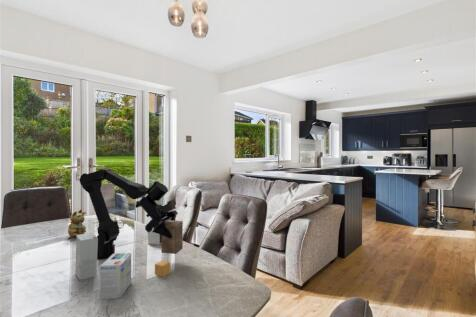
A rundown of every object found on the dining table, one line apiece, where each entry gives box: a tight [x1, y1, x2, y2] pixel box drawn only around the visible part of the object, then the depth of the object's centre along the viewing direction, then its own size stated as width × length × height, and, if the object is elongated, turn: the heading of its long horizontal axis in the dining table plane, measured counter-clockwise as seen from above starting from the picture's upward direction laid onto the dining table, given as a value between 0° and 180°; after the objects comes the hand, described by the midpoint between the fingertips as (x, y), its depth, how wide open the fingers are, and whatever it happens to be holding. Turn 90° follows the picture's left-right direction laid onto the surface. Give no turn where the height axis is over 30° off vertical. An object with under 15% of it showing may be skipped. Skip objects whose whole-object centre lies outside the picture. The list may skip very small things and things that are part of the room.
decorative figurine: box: [67, 209, 87, 238], centre depth 147 cm, size 10×8×15 cm
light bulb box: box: [99, 252, 132, 300], centre depth 86 cm, size 11×7×11 cm, turn 5°
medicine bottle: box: [147, 228, 162, 246], centre depth 136 cm, size 7×7×12 cm
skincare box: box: [74, 232, 98, 281], centre depth 98 cm, size 8×6×15 cm
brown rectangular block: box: [161, 220, 184, 255], centre depth 109 cm, size 6×6×12 cm
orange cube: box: [154, 260, 171, 277], centre depth 99 cm, size 4×4×4 cm
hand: (175, 235), depth 109 cm, fingers closed on brown rectangular block, 6 cm apart
